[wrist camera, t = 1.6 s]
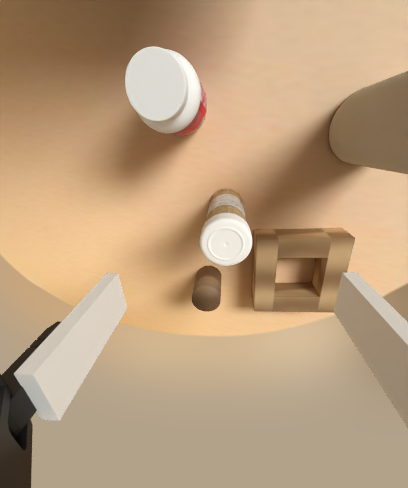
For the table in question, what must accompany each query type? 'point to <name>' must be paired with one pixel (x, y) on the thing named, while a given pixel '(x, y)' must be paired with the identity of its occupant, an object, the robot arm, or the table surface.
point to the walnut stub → (207, 289)
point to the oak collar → (299, 246)
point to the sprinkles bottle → (226, 230)
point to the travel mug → (374, 126)
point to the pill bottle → (165, 91)
